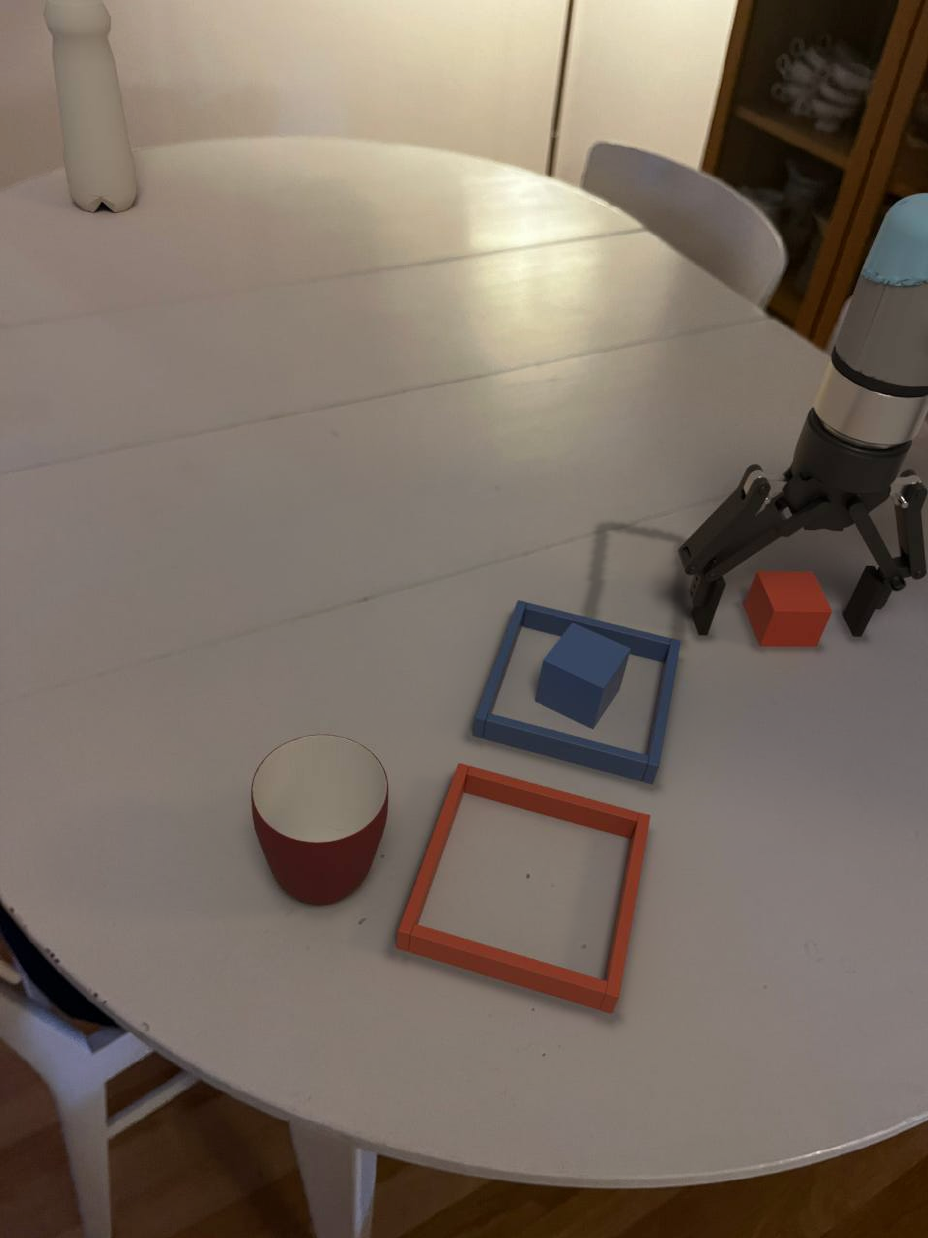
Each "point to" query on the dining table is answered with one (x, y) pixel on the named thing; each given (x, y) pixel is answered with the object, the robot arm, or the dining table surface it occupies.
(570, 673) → the blue block
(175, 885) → the dining table surface
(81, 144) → the bottle
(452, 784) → the red tray
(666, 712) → the blue square frame
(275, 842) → the mug
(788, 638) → the red block
